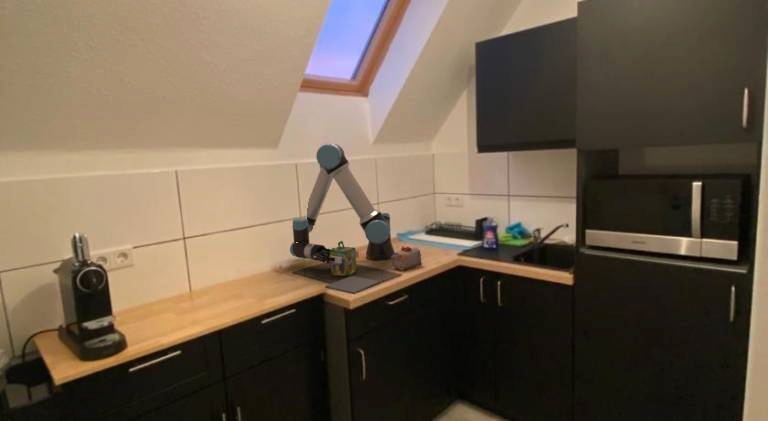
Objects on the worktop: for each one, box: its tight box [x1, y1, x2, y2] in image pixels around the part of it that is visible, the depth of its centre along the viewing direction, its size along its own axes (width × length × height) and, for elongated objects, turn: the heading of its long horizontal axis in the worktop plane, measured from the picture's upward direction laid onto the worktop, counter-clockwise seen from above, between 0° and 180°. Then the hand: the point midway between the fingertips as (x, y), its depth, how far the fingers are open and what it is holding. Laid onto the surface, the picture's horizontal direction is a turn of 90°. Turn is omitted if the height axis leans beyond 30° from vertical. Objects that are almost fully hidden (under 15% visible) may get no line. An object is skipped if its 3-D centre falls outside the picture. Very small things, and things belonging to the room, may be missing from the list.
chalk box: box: [329, 240, 358, 277], centre depth 192 cm, size 9×9×15 cm
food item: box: [390, 246, 423, 272], centre depth 198 cm, size 14×8×10 cm, turn 130°
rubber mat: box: [324, 275, 381, 295], centre depth 175 cm, size 16×16×1 cm
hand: (349, 257), depth 189 cm, fingers closed on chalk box, 11 cm apart
